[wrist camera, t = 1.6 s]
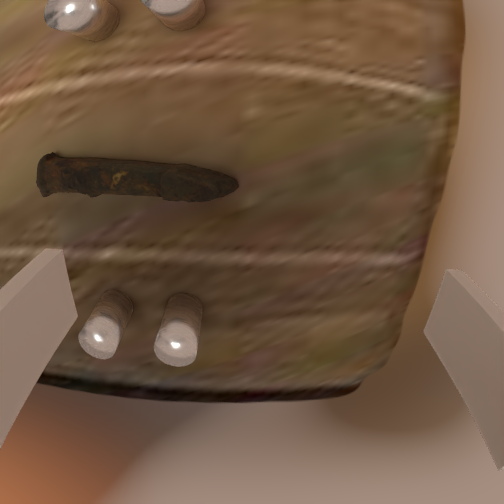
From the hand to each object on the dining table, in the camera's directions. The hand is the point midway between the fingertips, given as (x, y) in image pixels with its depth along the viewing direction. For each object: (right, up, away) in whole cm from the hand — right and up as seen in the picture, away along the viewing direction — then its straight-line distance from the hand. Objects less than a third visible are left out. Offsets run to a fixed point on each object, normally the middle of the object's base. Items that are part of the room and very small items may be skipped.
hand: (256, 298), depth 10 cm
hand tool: (-11, +9, +18) cm, 23 cm away
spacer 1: (-14, +23, +11) cm, 29 cm away
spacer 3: (-6, +22, +12) cm, 26 cm away
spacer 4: (-7, -5, +25) cm, 26 cm away
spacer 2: (-15, -5, +24) cm, 29 cm away
